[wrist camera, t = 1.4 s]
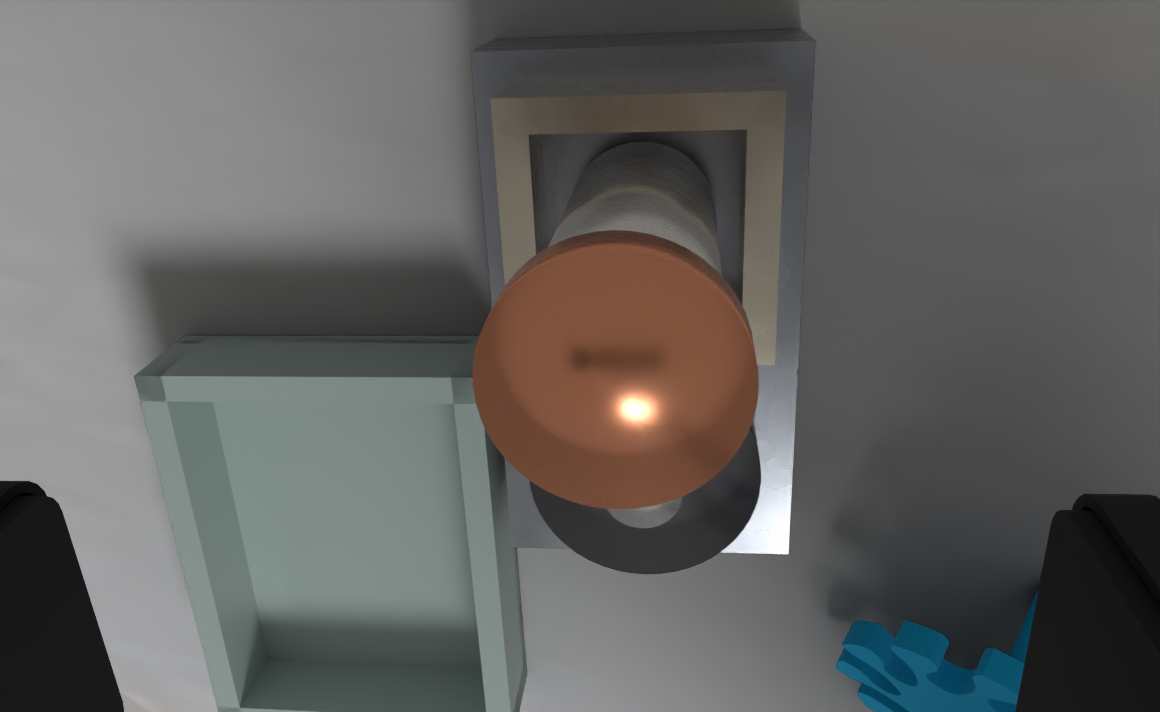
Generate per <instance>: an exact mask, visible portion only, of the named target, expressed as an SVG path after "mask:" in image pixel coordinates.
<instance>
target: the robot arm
mask: <svg viewBox="0 0 1160 712" xmlns="http://www.w3.org/2000/svg"><path fill="white" fill-rule="evenodd" d="M0 712H124V707H123V701H122V698H121V695H120V692H119V689H118V685H117V682H116V679H115V676H114V673H113V670H112V667H111V663H110V660H109V657H108V654H107V651H106V648H105V645H104V641H103V638H102V635H101V632H100V629H99V626H98V623H97V619H96V616H95V613H94V610H93V607H92V604H91V601H90V597H89V594H88V591H87V588H86V585H85V582H84V579H83V575H82V572H81V569H80V566H79V563H78V560H77V557H76V553H75V550H74V547H73V544H72V541H71V538H70V535H69V531H68V528H67V525H66V522H65V519H64V516H63V513H62V510H61V508H60V506H59V504H58V503H57V502H56V501H55V500H54V499H53V498H51V497H48V496H46V494H45V491H44V490H43V489H42V488H41V487H40V486H39V485H38V484H35V483H32V482H30V481H0ZM1015 712H1160V499H1159V498H1157V497H1156V496H1152V495H1134V494H1083V495H1082V496H1080V497H1078V499H1077V500H1076V502H1075V503H1074V505H1073V509H1072V510H1060V511H1058V512H1056V514H1055V516H1054V517H1053V520H1052V523H1051V527H1050V532H1049V538H1048V543H1047V548H1046V553H1045V558H1044V564H1043V569H1042V574H1041V579H1040V585H1039V590H1038V595H1037V600H1036V606H1035V611H1034V616H1033V621H1032V627H1031V632H1030V637H1029V642H1028V648H1027V653H1026V658H1025V663H1024V668H1023V674H1022V679H1021V684H1020V689H1019V695H1018V700H1017V705H1016V710H1015Z"/></svg>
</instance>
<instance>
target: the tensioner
mask: <svg viewBox="0 0 1160 712" xmlns="http://www.w3.org/2000/svg"><path fill="white" fill-rule="evenodd" d="M815 41H816V40H814V39H813V38H812V37H811V36H810V35H808V34H807V33H806V32H805V31H804V30H802V29H779V30H750V31H722V32H693V33H664V34H636V35H607V36H578V37H549V38H521V39H494V40H492V41H490V42H488V43H486V44H484V45H482V46H481V47H479V48H477V49H475V50H473V51H471V52H470V54H471V66H472V78H473V90H474V102H475V114H476V125H477V137H478V149H479V161H480V173H481V185H482V197H483V209H484V220H485V232H486V244H487V256H488V268H489V280H490V292H491V304H492V308H493V306H494V304H495V302H496V300H497V298H498V297H499V295H500V293H501V292H502V290H503V288H504V287H505V285H506V284H507V282H508V281H509V280H510V279H511V278H512V276H513V275H514V274H515V273H516V272H517V270H519V269H520V268H521V267H522V266H523V265H524V264H525V263H526V262H527V261H528V260H530V259H531V258H532V257H534V256H535V255H537V254H538V253H540V252H541V251H543V250H544V249H546V248H548V246H549V244H550V242H551V239H552V237H553V235H554V233H555V230H556V228H557V226H558V224H559V222H560V219H561V217H562V215H563V213H564V211H565V208H566V206H567V204H568V202H569V200H570V197H571V195H572V193H573V191H574V188H575V186H576V184H577V182H578V180H579V178H580V176H581V175H582V173H583V172H584V170H585V169H586V168H587V167H588V166H589V164H590V163H592V162H593V161H594V160H595V159H596V158H597V157H598V156H600V155H601V154H603V153H604V152H606V151H608V150H610V149H612V148H614V147H617V146H619V145H622V144H627V143H632V142H653V143H659V144H663V145H666V146H669V147H671V148H674V149H676V150H678V151H680V152H681V153H683V154H684V155H686V156H687V157H688V158H690V159H691V160H692V161H693V162H694V163H695V164H696V165H697V166H698V167H699V168H700V170H701V171H702V172H703V174H704V175H705V177H706V179H707V181H708V183H709V185H710V187H711V190H712V193H713V197H714V202H715V211H716V221H717V231H718V241H719V252H720V262H721V272H722V277H723V278H724V279H725V280H726V281H727V282H728V284H729V285H730V286H731V288H732V289H733V291H734V292H735V294H736V295H737V296H738V298H739V300H740V302H741V304H742V306H743V308H744V310H745V312H746V315H747V318H748V321H749V324H750V327H751V331H752V336H753V342H754V347H755V354H756V360H757V366H758V377H759V392H758V401H757V407H756V411H755V415H754V419H753V422H752V425H751V427H750V429H749V432H748V434H747V436H746V438H745V440H744V442H743V443H742V445H741V447H740V448H739V450H738V452H737V453H736V454H735V455H734V457H733V458H732V459H731V460H730V462H729V463H728V464H727V465H726V466H725V467H724V468H723V469H722V470H721V471H720V472H719V473H718V474H717V475H716V476H715V477H713V478H712V479H711V480H709V481H708V482H706V483H705V484H704V485H702V486H701V487H699V488H697V489H696V490H694V491H692V492H690V493H688V494H686V495H684V496H682V497H679V498H677V499H674V500H672V501H669V502H666V503H662V504H658V505H655V506H650V507H643V508H637V509H606V508H597V507H592V506H586V505H582V504H578V503H575V502H572V501H569V500H565V499H563V498H561V497H558V496H556V495H554V494H552V493H549V492H548V491H546V490H544V489H542V488H541V487H539V486H537V485H535V484H534V483H533V482H531V481H530V480H528V479H527V478H526V477H524V476H523V475H522V474H520V473H519V472H518V471H517V470H516V469H515V468H514V467H513V466H512V465H511V464H510V463H509V462H508V461H507V460H506V459H505V470H506V482H507V494H508V506H509V518H510V529H511V541H512V547H524V548H563V549H572V550H573V551H575V552H576V553H578V554H579V555H581V556H583V557H585V558H586V559H588V560H590V561H592V562H595V563H597V564H599V565H602V566H604V567H608V568H611V569H614V570H618V571H623V572H629V573H638V574H661V573H668V572H675V571H679V570H683V569H687V568H690V567H692V566H695V565H698V564H700V563H702V562H704V561H706V560H708V559H710V558H712V557H714V556H715V555H717V554H718V553H720V552H722V553H762V554H788V550H789V531H790V512H791V493H792V474H793V455H794V437H795V418H796V399H797V380H798V361H799V342H800V323H801V305H802V286H803V267H804V248H805V229H806V210H807V191H808V173H809V154H810V135H811V116H812V97H813V78H814V59H815Z"/></svg>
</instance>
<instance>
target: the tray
mask: <svg viewBox="0 0 1160 712" xmlns="http://www.w3.org/2000/svg"><path fill="white" fill-rule="evenodd" d="M478 338H479V336H184V337H183V338H181V339H180V340H179V341H178V342H176V343H175V344H174V345H172V346H171V347H170V348H169V349H167V350H166V351H165V352H164V353H162V354H161V355H160V356H159V357H157V358H156V359H155V360H154V361H152V362H151V363H150V364H149V365H147V366H146V367H145V368H144V369H142V370H141V371H140V372H139V373H137V374H136V375H135V376H134V378H135V382H136V386H137V390H138V394H139V398H140V402H141V406H142V410H143V414H144V418H145V422H146V426H147V430H148V434H149V438H150V442H151V446H152V450H153V454H154V458H155V462H156V465H157V469H158V473H159V477H160V481H161V485H162V489H163V493H164V497H165V501H166V505H167V509H168V513H169V517H170V521H171V525H172V529H173V533H174V537H175V541H176V545H177V549H178V553H179V557H180V561H181V565H182V569H183V573H184V577H185V581H186V585H187V589H188V593H189V597H190V601H191V605H192V609H193V613H194V617H195V621H196V625H197V629H198V633H199V637H200V641H201V645H202V649H203V653H204V657H205V661H206V665H207V669H208V673H209V677H210V681H211V685H212V689H213V693H214V697H215V701H216V705H217V709H218V712H519V710H520V705H521V701H522V696H523V691H524V687H525V682H526V678H527V666H526V654H525V642H524V630H523V617H522V605H521V593H520V581H519V568H518V556H517V547H512V541H511V529H510V518H509V506H508V494H507V482H506V470H505V458H504V456H503V455H502V454H501V453H500V452H499V450H498V449H497V448H496V446H495V445H494V443H493V442H492V440H491V438H490V437H489V435H488V433H487V431H486V429H485V427H484V425H483V423H482V421H481V418H480V415H479V412H478V409H477V405H476V402H475V396H474V390H473V370H472V369H473V361H474V353H475V349H476V345H477V342H478Z"/></svg>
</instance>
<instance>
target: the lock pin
mask: <svg viewBox="0 0 1160 712" xmlns="http://www.w3.org/2000/svg"><path fill="white" fill-rule="evenodd" d="M472 370H473V390H474V396H475V402H476V405H477V409H478V412H479V415H480V418H481V421H482V423H483V425H484V427H485V429H486V431H487V433H488V435H489V437H490V438H491V440H492V442H493V443H494V445H495V446H496V448H497V449H498V450H499V452H500V453H501V454H502V455H503V456H504V458H505V459H506V460H507V461H508V462H509V463H510V464H511V465H512V466H513V467H514V468H515V469H516V470H517V471H518V472H519V473H520V474H522V475H523V476H524V477H526V478H527V479H528V480H530V481H531V482H533V483H534V484H535V485H537V486H539V487H541V488H542V489H544V490H546V491H548V492H549V493H552V494H554V495H556V496H558V497H561V498H563V499H565V500H569V501H572V502H575V503H578V504H582V505H586V506H592V507H597V508H606V509H637V508H643V507H650V506H655V505H658V504H662V503H666V502H669V501H672V500H674V499H677V498H679V497H682V496H684V495H686V494H688V493H690V492H692V491H694V490H696V489H697V488H699V487H701V486H702V485H704V484H705V483H706V482H708V481H709V480H711V479H712V478H713V477H715V476H716V475H717V474H718V473H719V472H720V471H721V470H722V469H723V468H724V467H725V466H726V465H727V464H728V463H729V462H730V460H731V459H732V458H733V457H734V455H735V454H736V453H737V452H738V450H739V448H740V447H741V445H742V443H743V442H744V440H745V438H746V436H747V434H748V432H749V429H750V427H751V425H752V422H753V419H754V415H755V411H756V407H757V401H758V392H759V377H758V366H757V360H756V354H755V347H754V342H753V336H752V331H751V327H750V324H749V321H748V318H747V315H746V312H745V310H744V308H743V306H742V304H741V302H740V300H739V298H738V296H737V295H736V294H735V292H734V291H733V289H732V288H731V286H730V285H729V284H728V282H727V281H726V280H725V279H724V278H723V277H722V272H721V262H720V252H719V241H718V231H717V221H716V211H715V202H714V197H713V193H712V190H711V187H710V185H709V183H708V181H707V179H706V177H705V175H704V174H703V172H702V171H701V170H700V168H699V167H698V166H697V165H696V164H695V163H694V162H693V161H692V160H691V159H690V158H688V157H687V156H686V155H684V154H683V153H681V152H680V151H678V150H676V149H674V148H671V147H669V146H666V145H663V144H659V143H653V142H632V143H627V144H622V145H619V146H617V147H614V148H612V149H610V150H608V151H606V152H604V153H603V154H601V155H600V156H598V157H597V158H596V159H595V160H594V161H593V162H592V163H590V164H589V166H588V167H587V168H586V169H585V170H584V172H583V173H582V175H581V176H580V178H579V180H578V182H577V184H576V186H575V188H574V191H573V193H572V195H571V197H570V200H569V202H568V204H567V206H566V208H565V211H564V213H563V215H562V217H561V219H560V222H559V224H558V226H557V228H556V230H555V233H554V235H553V237H552V239H551V242H550V244H549V246H548V248H546V249H544V250H543V251H541V252H540V253H538V254H537V255H535V256H534V257H532V258H531V259H530V260H528V261H527V262H526V263H525V264H524V265H523V266H522V267H521V268H520V269H519V270H517V272H516V273H515V274H514V275H513V276H512V278H511V279H510V280H509V281H508V282H507V284H506V285H505V287H504V288H503V290H502V292H501V293H500V295H499V297H498V298H497V300H496V302H495V304H494V306H493V308H492V310H491V312H490V313H489V315H488V317H487V319H486V321H485V323H484V326H483V328H482V330H481V333H480V335H479V338H478V342H477V345H476V349H475V353H474V361H473V369H472Z"/></svg>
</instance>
